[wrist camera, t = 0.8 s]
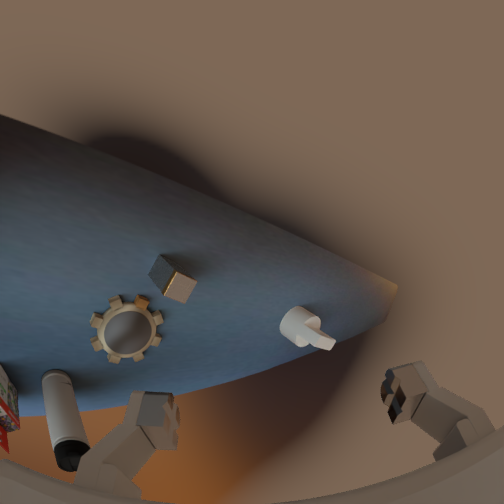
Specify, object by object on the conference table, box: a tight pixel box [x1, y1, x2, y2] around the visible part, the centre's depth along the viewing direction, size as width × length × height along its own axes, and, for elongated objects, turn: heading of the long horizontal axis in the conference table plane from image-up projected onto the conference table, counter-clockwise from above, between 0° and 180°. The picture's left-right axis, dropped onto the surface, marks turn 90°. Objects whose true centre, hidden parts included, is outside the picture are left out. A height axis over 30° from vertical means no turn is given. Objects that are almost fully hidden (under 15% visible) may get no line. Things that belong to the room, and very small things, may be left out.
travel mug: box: [41, 370, 91, 472], centre depth 35 cm, size 6×7×20 cm
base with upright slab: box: [280, 306, 336, 350], centre depth 73 cm, size 9×9×12 cm
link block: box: [148, 255, 197, 304], centre depth 47 cm, size 4×4×8 cm
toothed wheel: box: [90, 295, 164, 364], centre depth 48 cm, size 14×14×2 cm
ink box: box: [0, 365, 20, 453], centre depth 29 cm, size 4×8×15 cm, turn 3°
